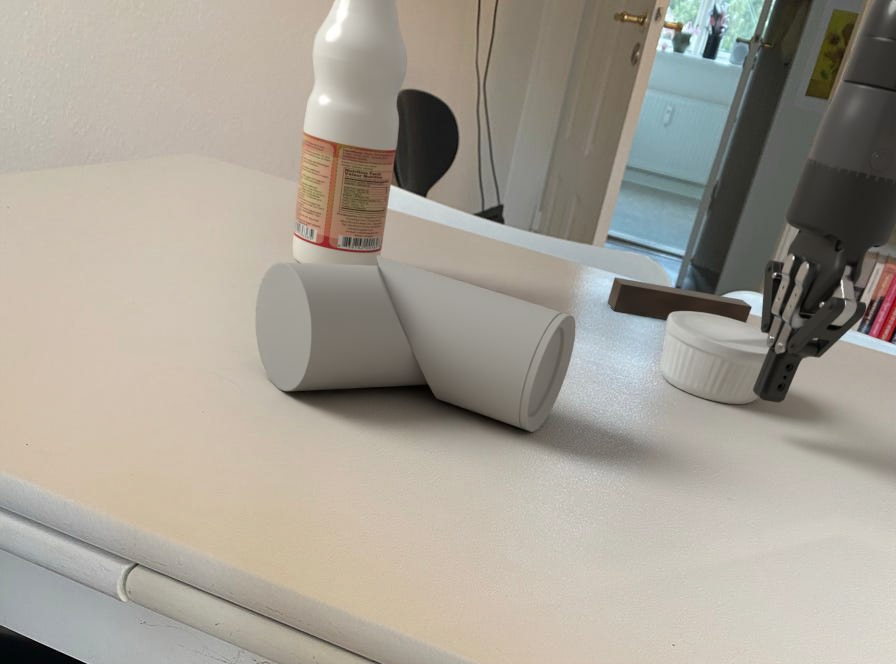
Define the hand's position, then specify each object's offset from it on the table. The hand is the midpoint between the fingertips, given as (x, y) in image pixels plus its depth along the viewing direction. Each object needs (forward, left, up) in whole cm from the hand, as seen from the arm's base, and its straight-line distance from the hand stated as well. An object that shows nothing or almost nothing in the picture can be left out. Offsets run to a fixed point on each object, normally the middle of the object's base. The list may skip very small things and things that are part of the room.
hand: (766, 397), depth 74 cm
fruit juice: (+35, -34, -3) cm, 49 cm away
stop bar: (-5, -36, -3) cm, 36 cm away
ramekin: (0, -11, -3) cm, 11 cm away
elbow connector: (+29, +4, -3) cm, 29 cm away
